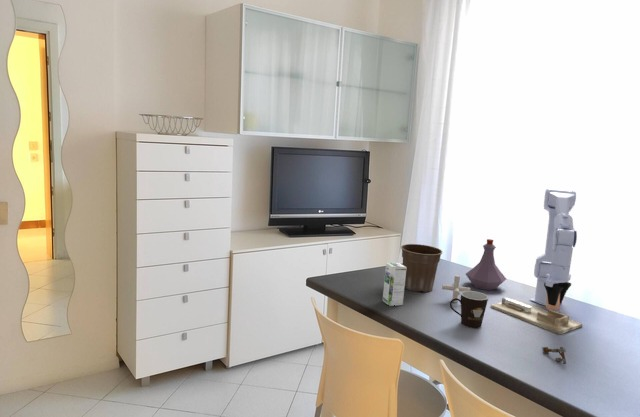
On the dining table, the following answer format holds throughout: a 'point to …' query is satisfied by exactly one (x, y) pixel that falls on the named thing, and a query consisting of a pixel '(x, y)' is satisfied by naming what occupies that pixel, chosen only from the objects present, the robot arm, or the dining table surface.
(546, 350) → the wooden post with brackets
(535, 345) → the dining table surface
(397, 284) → the syrup box
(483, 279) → the flask
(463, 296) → the coffee mug
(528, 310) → the lock pin
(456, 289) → the pipe connector
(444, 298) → the dining table surface
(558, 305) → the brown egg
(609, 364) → the dining table surface
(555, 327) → the dock
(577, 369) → the dining table surface
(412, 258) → the plant pot
